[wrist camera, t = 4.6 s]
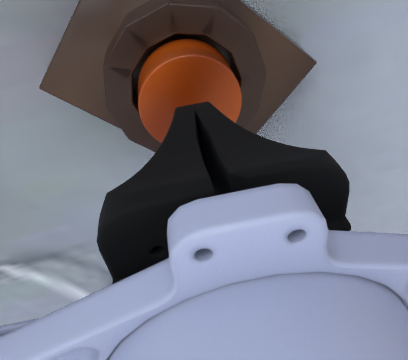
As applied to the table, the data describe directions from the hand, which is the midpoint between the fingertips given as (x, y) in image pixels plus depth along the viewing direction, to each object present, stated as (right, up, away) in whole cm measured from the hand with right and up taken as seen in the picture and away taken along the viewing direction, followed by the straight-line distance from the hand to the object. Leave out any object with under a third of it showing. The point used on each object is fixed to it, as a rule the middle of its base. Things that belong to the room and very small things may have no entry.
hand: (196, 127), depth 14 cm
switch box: (-1, +5, +6) cm, 7 cm away
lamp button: (-1, +2, +3) cm, 4 cm away
